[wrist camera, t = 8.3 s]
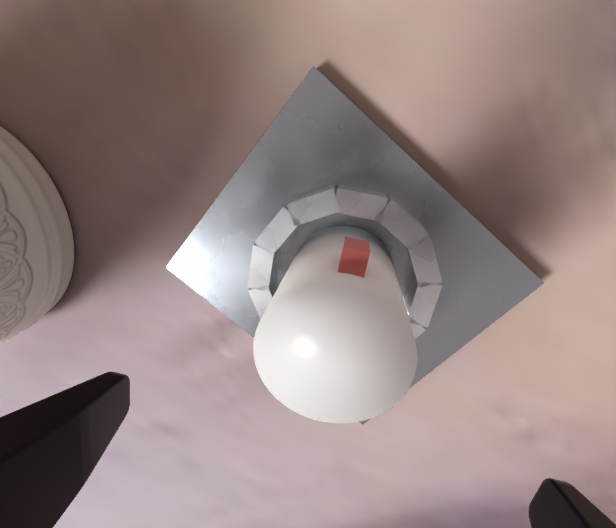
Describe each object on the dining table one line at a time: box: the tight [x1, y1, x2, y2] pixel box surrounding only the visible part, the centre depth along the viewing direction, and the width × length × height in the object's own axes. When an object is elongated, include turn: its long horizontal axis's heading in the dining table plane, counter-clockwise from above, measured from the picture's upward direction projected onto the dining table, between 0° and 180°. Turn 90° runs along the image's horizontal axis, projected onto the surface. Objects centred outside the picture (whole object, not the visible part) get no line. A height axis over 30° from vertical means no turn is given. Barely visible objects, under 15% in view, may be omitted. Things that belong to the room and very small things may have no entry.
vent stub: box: [253, 226, 418, 423], centre depth 14 cm, size 6×5×7 cm
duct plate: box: [166, 66, 544, 424], centre depth 17 cm, size 14×12×2 cm
